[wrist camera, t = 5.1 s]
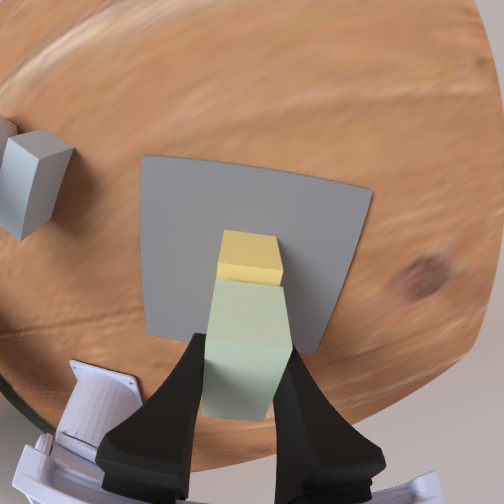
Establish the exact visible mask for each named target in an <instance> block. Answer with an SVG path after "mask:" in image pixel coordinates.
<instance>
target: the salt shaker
mask: <svg viewBox="0 0 504 504" xmlns="http://www.w3.org/2000/svg"><path fill="white" fill-rule="evenodd" d="M16 135H18V132H17V126H16V125H15V124H14V123H12V122H11V121H9V120H8V119H6V118H5V117H3V116H2V115H1V114H0V170H1V165H2V161H3V156H4V152H5V148H6V145H7V141H8V138H9V137H12V136H16Z"/></svg>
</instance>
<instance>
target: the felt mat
mask: <svg viewBox="0 0 504 504" xmlns="http://www.w3.org/2000/svg"><path fill="white" fill-rule="evenodd" d="M372 193H373V191H372V190H371V189H368V188H364V187H360V186H356V185H351V184H347V183H342V182H338V181H333V180H328V179H324V178H319V177H314V176H309V175H303V174H298V173H293V172H287V171H281V170H275V169H269V168H263V167H256V166H249V165H242V164H235V163H228V162H220V161H211V160H202V159H192V158H182V157H170V156H157V155H143V156H142V159H141V180H140V252H141V274H142V289H143V301H144V312H145V322H146V331H147V335H153V336H158V337H164V338H170V339H176V340H182V341H188V342H190V341H191V339H192V336H193V334H194V333H202V334H207V329H208V322H209V316H210V310H211V304H212V298H213V293H214V287H215V281H216V276H217V267H218V259H219V254H220V249H221V244H222V239H223V233H224V230H231V231H239V232H246V233H253V234H261V235H268V236H275V237H276V238H277V242H278V247H279V252H280V257H281V262H282V267H283V274H282V278H281V282H280V286H279V287H283V292H284V298H285V304H286V310H287V316H288V322H289V328H290V335H291V341H292V343H293V344H294V345H295V347H296V349H297V351H298V353H314V354H315V352H316V350H317V348H318V345H319V343H320V341H321V338H322V336H323V334H324V331H325V329H326V327H327V324H328V322H329V319H330V317H331V314H332V312H333V309H334V307H335V304H336V302H337V299H338V297H339V294H340V291H341V289H342V286H343V283H344V281H345V278H346V275H347V272H348V269H349V267H350V264H351V261H352V258H353V255H354V252H355V249H356V246H357V243H358V240H359V237H360V234H361V231H362V227H363V224H364V221H365V218H366V214H367V211H368V207H369V204H370V200H371V197H372Z"/></svg>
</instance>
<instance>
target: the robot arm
mask: <svg viewBox="0 0 504 504" xmlns="http://www.w3.org/2000/svg"><path fill="white" fill-rule="evenodd" d="M206 335H207V334H202V333H194V334H193V336H192V339H191V341H190V343H189V345H188V347H187V349H186V350H185V352H184V354H183V356H182V357H181V359H180V360H179V362H178V363H177V365H176V366H175V368H174V369H173V371H172V372H171V373H170V375H169V376H168V377H167V379H166V380H165V381H164V383H163V384H162V385H161V386H160V387H159V388H158V390H157V391H156V392H155V393H154V394H153V395H152V396H151V397H150V398H149V399H148V400H147V401H146V402H145V403H144V404H143V403H142V399H141V396H140V392H139V388H138V384H137V380H136V378H135V377H133V376H130V375H126V374H122V373H118V372H114V371H110V370H106V369H103V368H99V367H95V366H92V365H89V364H85V363H82V362H79V361H76V360H71V361H70V365H71V367H72V370H73V372H74V374H75V376H76V378H77V380H78V381H77V384H76V386H75V388H74V390H73V392H72V395H71V397H70V399H69V401H68V404H67V406H66V408H65V411H64V413H63V416H62V418H61V421H60V423H59V425H58V428H57V431H56V433H55V434H54V435H53V436H52V435H51V434H49V433H47V434H43V435H41V436H40V438H39V440H38V442H37V444H36V446H35V448H33V447H31V446H30V445H25V448H24V450H23V453H22V456H21V458H20V461H19V464H18V467H17V470H16V473H15V476H14V479H13V482H12V486H13V487H15V488H17V489H18V490H20V491H21V492H23V493H25V495H26V497H27V498H28V500H29V501H30V503H31V504H206V503H197V502H190V501H186V499H187V498H188V492H189V479H190V467H191V457H192V446H193V437H194V428H195V422H196V418H197V413H198V409H199V404H200V400H201V395H202V391H203V374H204V357H205V342H206ZM292 348H293V349H292V352H291V355H290V357H289V360H288V362H287V365H286V368H285V370H284V373H283V375H282V378H281V380H280V383H279V385H278V388H277V390H276V392H275V395H274V397H273V408H274V416H275V424H276V434H277V468H276V489H275V503H274V504H446V501H445V498H444V494H443V491H442V487H441V484H440V481H439V477H438V475H437V471H436V470H434V471H432V472H429V473H426V474H423V475H421V476H418V477H416V478H414V479H412V480H411V481H409V482H408V483H405V484H403V485H399V486H395V487H392V488H389V489H385V490H381V491H378V492H373V493H371V490H370V486H371V485H372V479H371V478H372V477H374V476H376V475H377V474H379V473H380V472H381V471H383V470H384V469H385V467H386V462H385V459H384V456H383V453H382V450H381V448H380V447H378V446H377V445H375V444H373V443H372V442H371V441H369V440H368V439H366V438H365V437H364V436H363V435H361V434H360V433H359V432H358V431H356V430H355V429H354V428H353V427H352V426H351V425H350V424H349V423H348V422H347V421H346V420H345V419H344V418H343V417H342V416H341V415H340V414H339V413H338V412H337V411H336V410H335V409H334V407H333V406H332V405H331V404H330V403H329V401H328V400H327V399H326V397H325V396H324V395H323V393H322V392H321V390H320V389H319V388H318V386H317V385H316V383H315V382H314V380H313V378H312V377H311V375H310V373H309V372H308V370H307V368H306V366H305V365H304V363H303V361H302V359H301V357H300V355H299V353H298V351H297V349H296V347H295V345H294V344H293V343H292Z"/></svg>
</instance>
